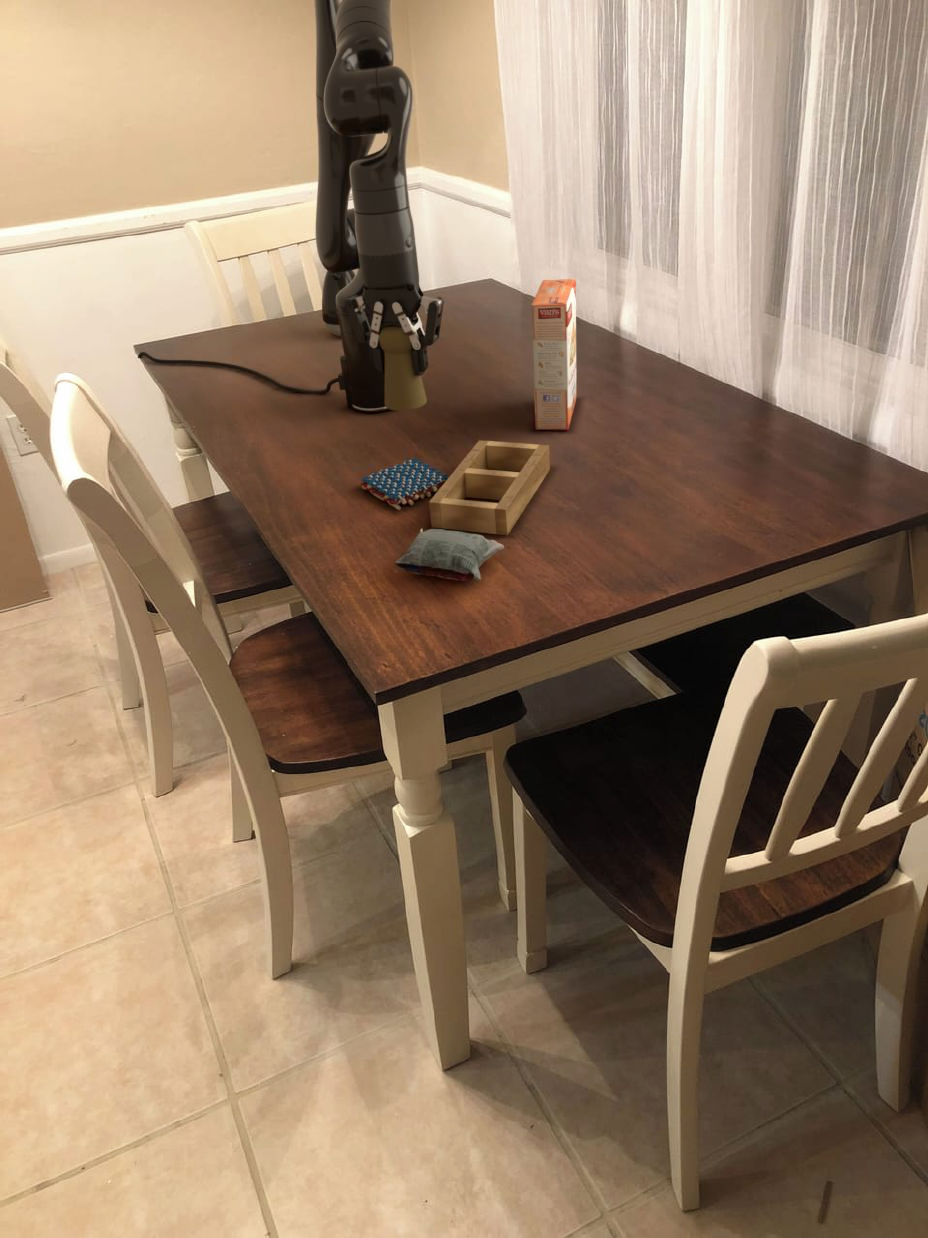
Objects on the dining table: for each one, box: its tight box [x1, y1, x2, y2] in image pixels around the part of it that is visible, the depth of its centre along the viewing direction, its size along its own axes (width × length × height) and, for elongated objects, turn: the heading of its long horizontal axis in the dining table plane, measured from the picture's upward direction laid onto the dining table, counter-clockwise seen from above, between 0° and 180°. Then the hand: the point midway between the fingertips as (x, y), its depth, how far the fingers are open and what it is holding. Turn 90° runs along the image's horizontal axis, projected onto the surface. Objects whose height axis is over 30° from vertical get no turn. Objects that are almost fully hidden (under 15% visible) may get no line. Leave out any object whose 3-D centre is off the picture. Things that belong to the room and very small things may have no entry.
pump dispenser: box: [321, 270, 356, 338], centre depth 205 cm, size 10×10×15 cm
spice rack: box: [428, 439, 551, 536], centre depth 138 cm, size 11×21×4 cm, turn 159°
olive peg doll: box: [379, 324, 428, 412], centre depth 132 cm, size 6×6×11 cm
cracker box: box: [531, 278, 577, 431], centre depth 156 cm, size 14×6×21 cm, turn 168°
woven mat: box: [360, 457, 450, 511], centre depth 143 cm, size 10×11×2 cm
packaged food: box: [394, 528, 505, 582], centre depth 122 cm, size 9×12×5 cm
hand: (402, 372), depth 132 cm, fingers closed on olive peg doll, 5 cm apart
